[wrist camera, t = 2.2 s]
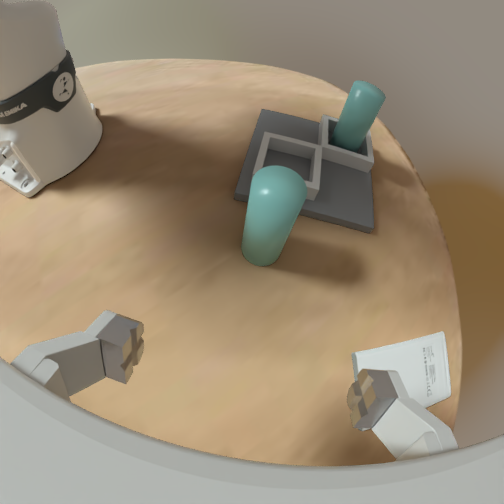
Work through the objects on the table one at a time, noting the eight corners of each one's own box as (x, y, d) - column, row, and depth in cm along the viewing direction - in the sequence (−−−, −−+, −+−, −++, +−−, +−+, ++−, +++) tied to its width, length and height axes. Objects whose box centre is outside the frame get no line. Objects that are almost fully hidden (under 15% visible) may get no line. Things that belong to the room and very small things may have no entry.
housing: (233, 199, 30) (241, 119, 20) (260, 115, 37) (271, 49, 27) (369, 233, 30) (421, 174, 20) (364, 143, 37) (394, 87, 27)
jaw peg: (237, 260, 27) (245, 202, 18) (246, 226, 29) (257, 160, 20) (277, 269, 27) (304, 216, 18) (283, 235, 29) (309, 173, 20)
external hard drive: (348, 353, 25) (436, 332, 27) (355, 429, 22) (443, 397, 23) (356, 351, 24) (444, 330, 25) (363, 432, 20) (452, 396, 22)
